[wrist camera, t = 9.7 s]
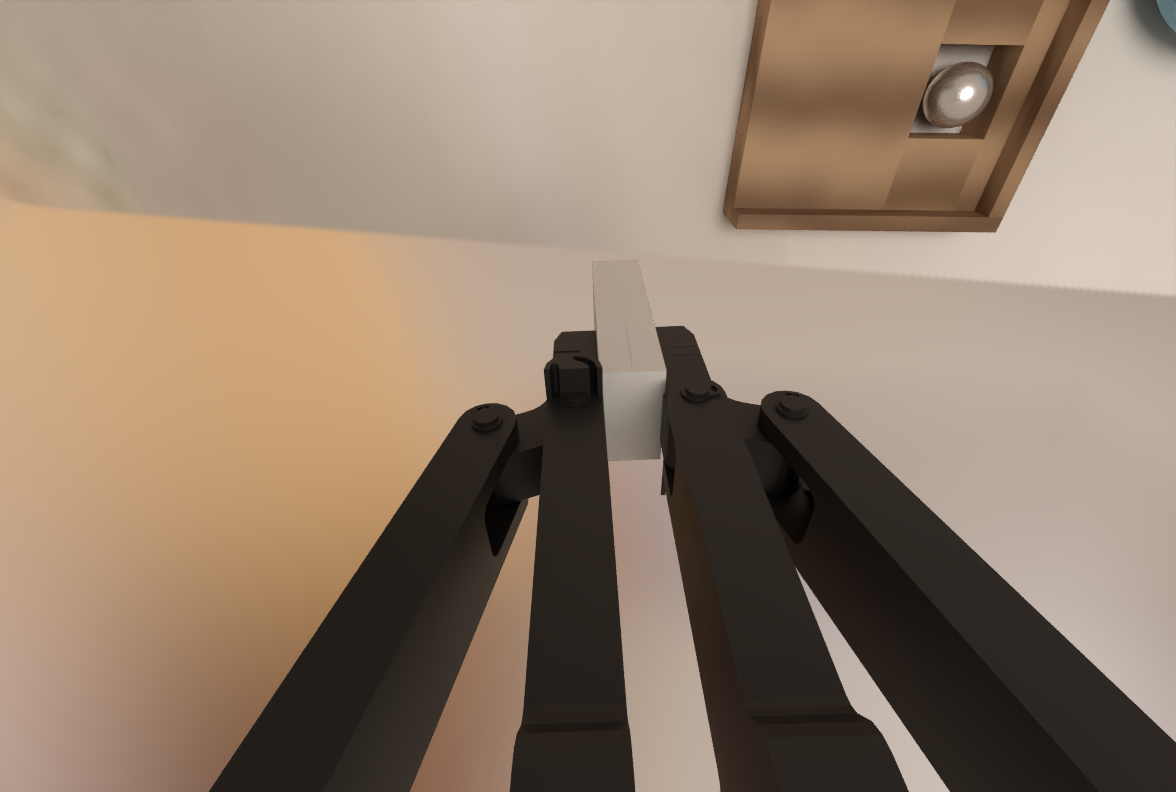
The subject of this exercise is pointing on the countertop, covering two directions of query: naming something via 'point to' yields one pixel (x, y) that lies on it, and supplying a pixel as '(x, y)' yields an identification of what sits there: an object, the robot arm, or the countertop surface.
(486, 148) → the countertop surface
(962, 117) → the ball
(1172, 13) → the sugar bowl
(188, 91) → the countertop surface
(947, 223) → the tray
